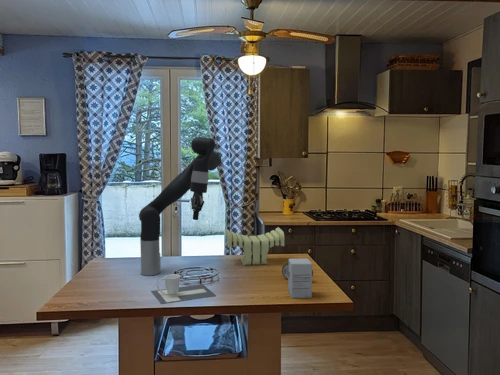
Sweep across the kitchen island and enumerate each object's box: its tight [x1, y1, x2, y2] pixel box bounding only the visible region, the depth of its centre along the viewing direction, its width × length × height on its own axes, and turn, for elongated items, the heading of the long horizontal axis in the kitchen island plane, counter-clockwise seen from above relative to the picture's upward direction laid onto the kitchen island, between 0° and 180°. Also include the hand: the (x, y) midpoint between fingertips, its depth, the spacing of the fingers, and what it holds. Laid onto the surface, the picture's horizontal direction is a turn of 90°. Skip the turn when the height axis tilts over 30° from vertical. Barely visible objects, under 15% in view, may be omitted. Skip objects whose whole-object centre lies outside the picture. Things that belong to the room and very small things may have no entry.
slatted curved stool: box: [225, 226, 285, 266], centre depth 253 cm, size 30×16×18 cm, turn 98°
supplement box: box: [287, 258, 313, 299], centre depth 199 cm, size 9×9×15 cm
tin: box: [281, 261, 314, 280], centre depth 221 cm, size 15×3×8 cm, turn 65°
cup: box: [156, 273, 181, 296], centre depth 199 cm, size 7×10×8 cm
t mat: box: [150, 283, 217, 305], centre depth 201 cm, size 24×18×1 cm
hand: (195, 219), depth 210 cm, fingers closed
